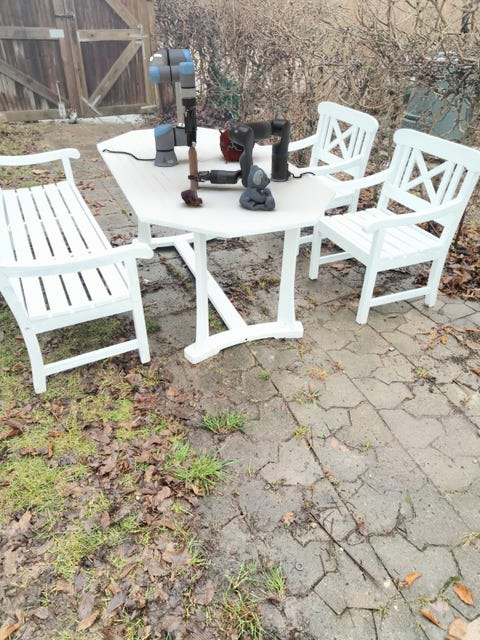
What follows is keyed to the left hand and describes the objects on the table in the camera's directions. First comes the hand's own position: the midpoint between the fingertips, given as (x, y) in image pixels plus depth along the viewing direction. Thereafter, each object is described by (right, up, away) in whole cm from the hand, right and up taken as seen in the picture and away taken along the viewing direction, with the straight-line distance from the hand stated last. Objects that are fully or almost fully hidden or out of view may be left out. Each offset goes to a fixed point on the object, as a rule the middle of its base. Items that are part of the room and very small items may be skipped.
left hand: (192, 144), depth 240 cm
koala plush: (+34, -36, -11) cm, 50 cm away
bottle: (0, -19, +13) cm, 23 cm away
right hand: (-3, -13, +10) cm, 17 cm away
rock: (+1, -35, -9) cm, 36 cm away
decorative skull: (+24, +15, +63) cm, 69 cm away
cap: (0, +1, 0) cm, 1 cm away
